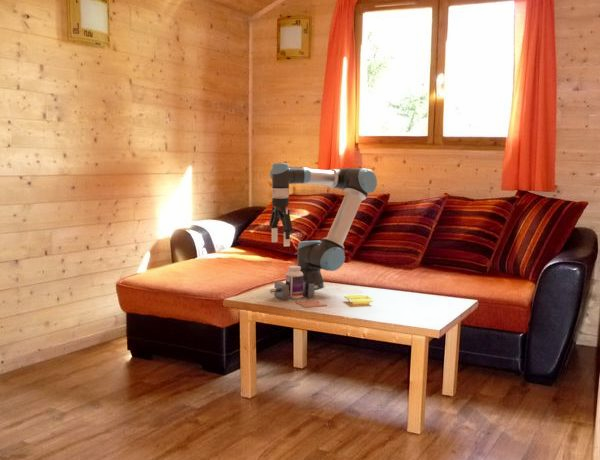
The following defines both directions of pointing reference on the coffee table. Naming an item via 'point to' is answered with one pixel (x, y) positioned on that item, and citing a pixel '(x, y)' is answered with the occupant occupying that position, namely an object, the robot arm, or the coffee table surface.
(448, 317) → the coffee table surface
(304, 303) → the tile
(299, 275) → the pill bottle
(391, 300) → the coffee table surface
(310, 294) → the vise
